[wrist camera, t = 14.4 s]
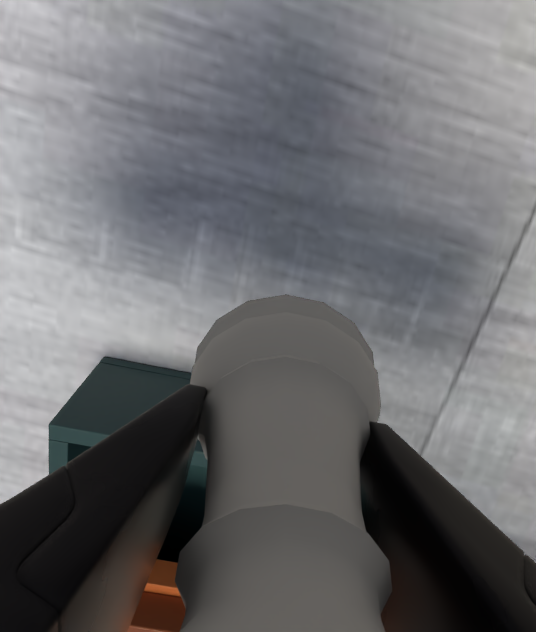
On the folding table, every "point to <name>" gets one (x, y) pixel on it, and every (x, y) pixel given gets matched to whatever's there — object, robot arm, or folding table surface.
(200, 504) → the bin
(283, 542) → the rook chess piece
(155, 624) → the bin lid
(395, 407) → the folding table surface
